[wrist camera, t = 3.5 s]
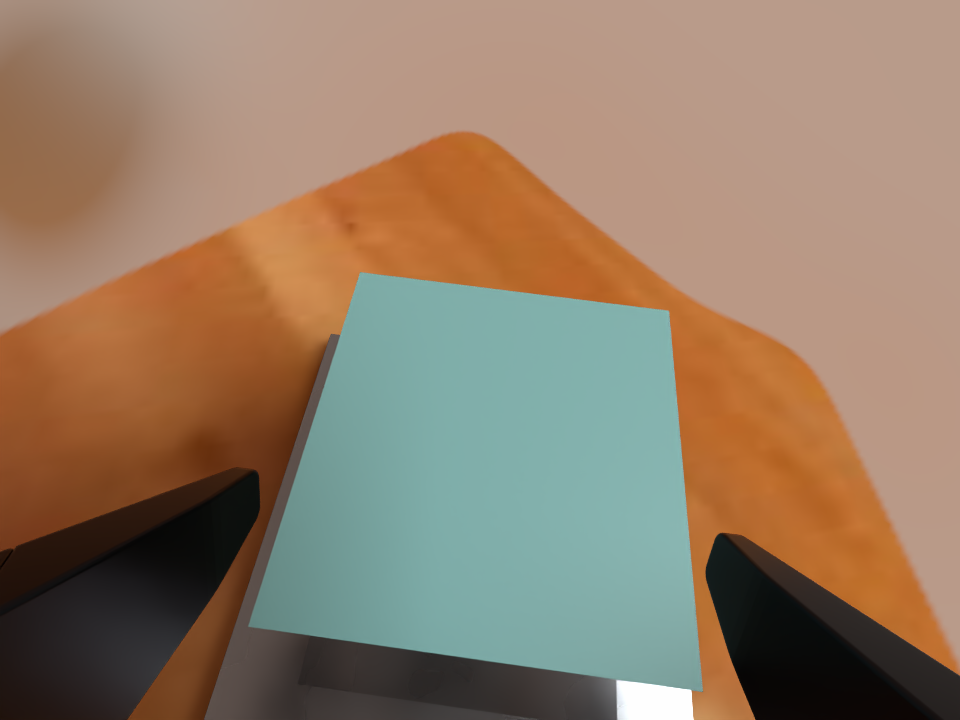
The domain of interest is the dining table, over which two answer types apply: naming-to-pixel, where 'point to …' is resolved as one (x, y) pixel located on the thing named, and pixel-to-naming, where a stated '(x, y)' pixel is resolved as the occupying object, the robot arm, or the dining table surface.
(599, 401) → the teal block
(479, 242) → the dining table surface
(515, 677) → the socket holder
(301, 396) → the dining table surface
